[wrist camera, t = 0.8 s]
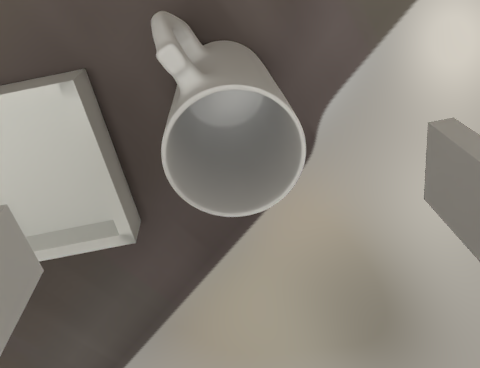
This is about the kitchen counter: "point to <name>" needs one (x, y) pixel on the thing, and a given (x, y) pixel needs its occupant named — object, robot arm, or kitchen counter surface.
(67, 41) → the kitchen counter surface
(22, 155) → the tray
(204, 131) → the mug
